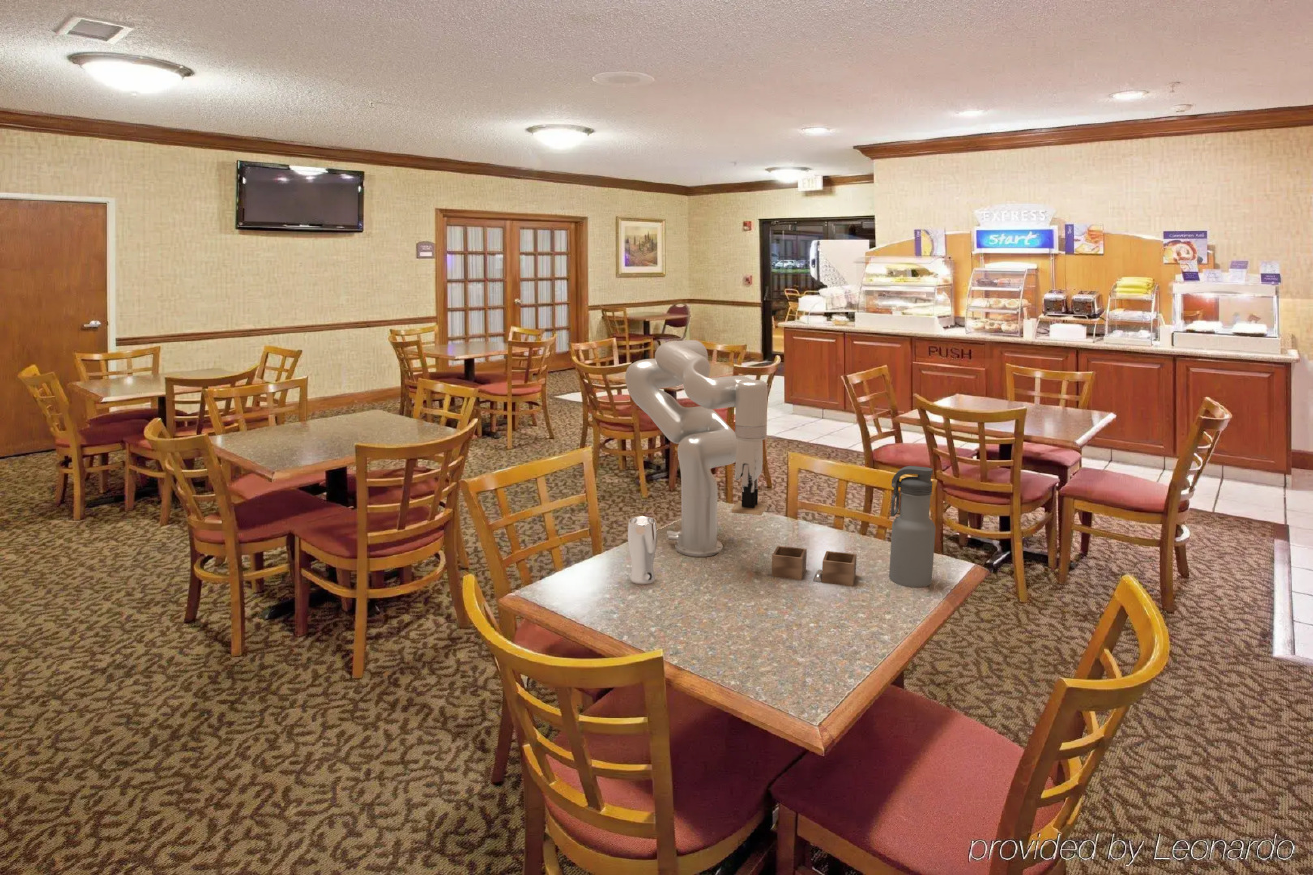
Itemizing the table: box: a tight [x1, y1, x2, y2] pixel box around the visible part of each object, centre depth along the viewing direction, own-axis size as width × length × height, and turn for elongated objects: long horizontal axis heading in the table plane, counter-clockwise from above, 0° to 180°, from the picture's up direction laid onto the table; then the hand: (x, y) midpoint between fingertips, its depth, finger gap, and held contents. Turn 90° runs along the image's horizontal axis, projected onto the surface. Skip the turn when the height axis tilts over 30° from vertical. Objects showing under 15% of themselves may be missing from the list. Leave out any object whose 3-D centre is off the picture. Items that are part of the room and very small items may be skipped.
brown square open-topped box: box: [821, 550, 858, 587], centre depth 191 cm, size 7×7×6 cm
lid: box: [731, 483, 768, 516], centre depth 193 cm, size 7×7×7 cm
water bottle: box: [888, 465, 936, 588], centre depth 188 cm, size 10×10×28 cm
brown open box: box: [771, 545, 808, 581], centre depth 195 cm, size 7×7×6 cm
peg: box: [812, 569, 822, 583], centre depth 192 cm, size 5×2×2 cm
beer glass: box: [627, 516, 658, 585], centre depth 191 cm, size 7×7×15 cm
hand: (749, 505), depth 194 cm, fingers closed on lid
